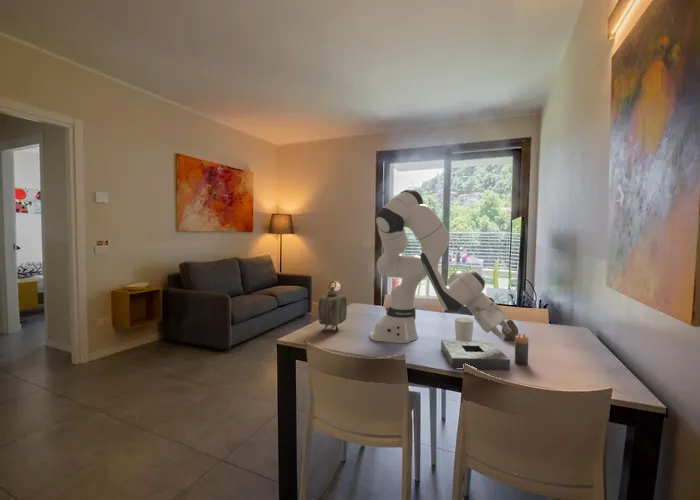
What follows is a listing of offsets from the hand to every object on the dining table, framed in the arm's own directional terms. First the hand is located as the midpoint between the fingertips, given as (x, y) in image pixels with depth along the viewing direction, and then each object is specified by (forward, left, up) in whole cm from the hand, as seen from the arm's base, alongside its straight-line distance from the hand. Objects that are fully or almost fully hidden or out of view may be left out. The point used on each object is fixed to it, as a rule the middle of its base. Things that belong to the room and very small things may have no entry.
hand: (506, 335), depth 123 cm
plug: (+5, -2, -10) cm, 11 cm away
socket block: (-12, +1, -10) cm, 16 cm away
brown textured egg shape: (+12, +26, -10) cm, 30 cm away
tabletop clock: (-71, +34, -10) cm, 80 cm away
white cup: (-10, +21, -10) cm, 25 cm away
